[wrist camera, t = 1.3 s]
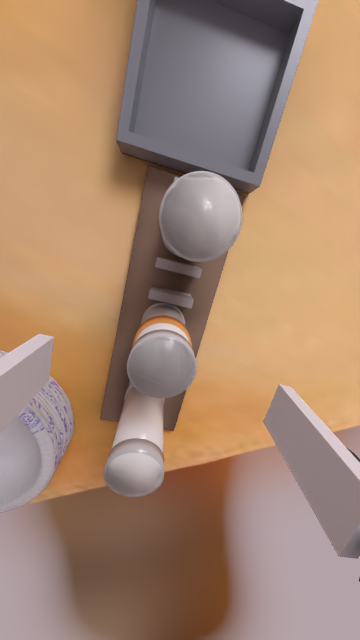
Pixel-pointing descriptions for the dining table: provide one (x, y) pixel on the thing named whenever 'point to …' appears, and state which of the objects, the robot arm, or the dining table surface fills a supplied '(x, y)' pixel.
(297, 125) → the dining table surface
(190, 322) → the clip rail
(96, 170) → the dining table surface
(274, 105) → the tray
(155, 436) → the cylinder
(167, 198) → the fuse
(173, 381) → the cylinder
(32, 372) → the robot arm
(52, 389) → the white purple floral bowl
